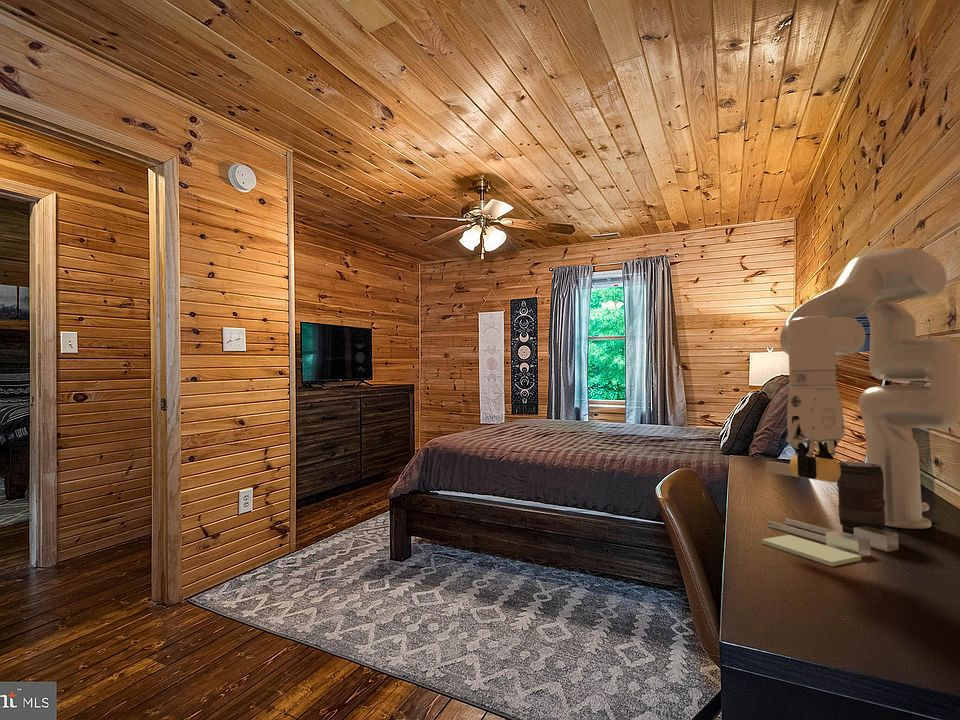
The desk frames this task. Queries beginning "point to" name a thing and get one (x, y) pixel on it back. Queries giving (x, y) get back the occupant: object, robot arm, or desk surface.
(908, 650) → the desk surface
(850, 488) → the camera lens
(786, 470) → the plug
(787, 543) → the mat
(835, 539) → the housing
